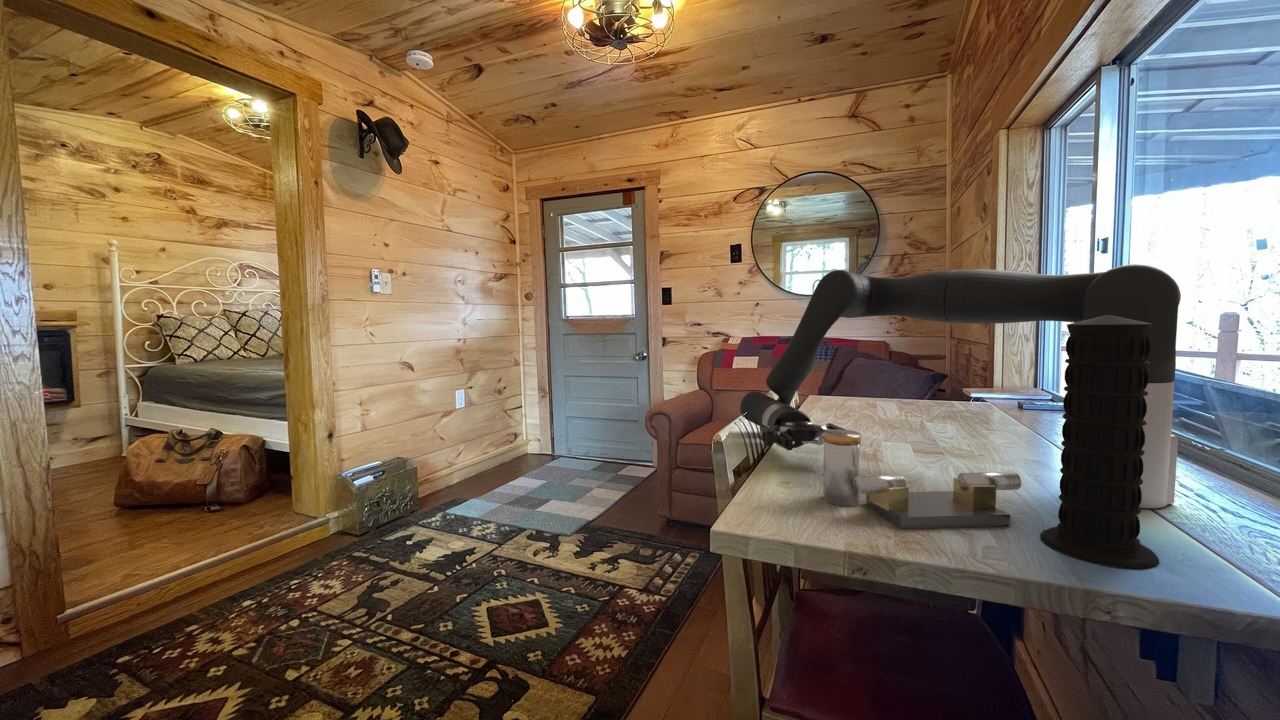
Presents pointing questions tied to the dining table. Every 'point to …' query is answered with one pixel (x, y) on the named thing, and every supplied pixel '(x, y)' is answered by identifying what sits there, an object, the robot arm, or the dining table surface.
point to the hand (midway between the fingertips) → (816, 443)
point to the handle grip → (1103, 444)
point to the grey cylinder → (841, 466)
